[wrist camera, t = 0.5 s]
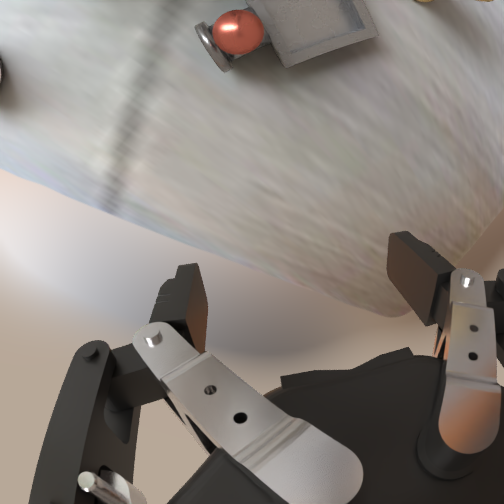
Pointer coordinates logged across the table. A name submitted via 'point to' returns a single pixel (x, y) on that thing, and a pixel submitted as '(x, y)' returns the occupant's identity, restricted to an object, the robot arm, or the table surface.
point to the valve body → (432, 0)
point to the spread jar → (1, 70)
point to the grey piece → (286, 29)
